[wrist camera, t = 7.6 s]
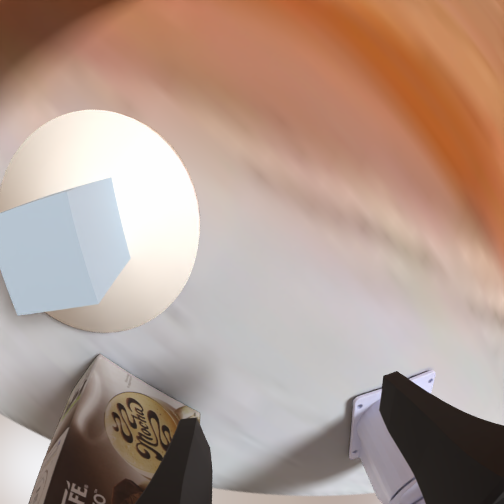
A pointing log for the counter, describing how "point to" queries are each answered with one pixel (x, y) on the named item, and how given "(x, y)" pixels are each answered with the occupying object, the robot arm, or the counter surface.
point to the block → (62, 248)
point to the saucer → (129, 205)
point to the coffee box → (108, 439)
